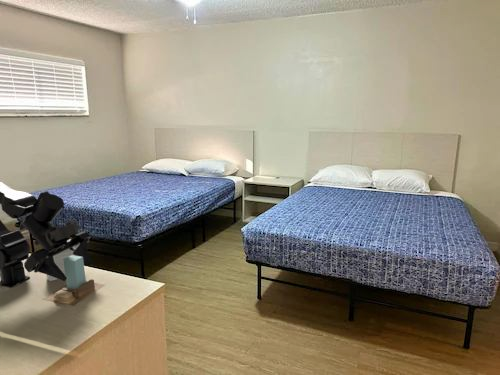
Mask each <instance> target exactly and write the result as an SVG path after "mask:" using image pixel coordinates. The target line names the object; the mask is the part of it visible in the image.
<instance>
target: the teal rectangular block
mask: <svg viewBox="0 0 500 375" xmlns="http://www.w3.org/2000/svg"><path fill="white" fill-rule="evenodd" d="M63 261H64V269H65V276H66V278H67V279H66V280H65V281H66V282H65V283H66V284H65V285H67V288H69V289H74V290H76V288H78V287H79V286H81V285H83V284H84V283H86V271H85V270H86V269H85V263H84V261H83V257H81V256H74V255H71V256H69V257H67V258H65V259H63Z"/></svg>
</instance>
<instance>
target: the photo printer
mask: <svg viewBox="0 0 500 375" xmlns="http://www.w3.org/2000/svg"><path fill="white" fill-rule="evenodd" d="M71 239H72V238H70V239H69V240H67V242H69V241H70V240H71ZM63 248H64V247H63ZM73 252H74V251H72V250H70V249H67V250H65V251H63V252H61V253H59V254H57V255H55V256H53V258H54V262H55V264H56V265H57V266H58V267H59V269H60V270H61V271H62V272H63V273H64V275H65V269H64V261H63V259H65V258H67V257H69V256H71V255H74V254H73ZM74 256H75V255H74ZM46 279H47V281H49V282H52V281H57V280H58V279H57V278H55V277H52V276H50V275H47V274H46Z"/></svg>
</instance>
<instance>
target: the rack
mask: <svg viewBox="0 0 500 375" xmlns="http://www.w3.org/2000/svg"><path fill="white" fill-rule="evenodd" d="M104 286H105V284H103V283H98V282H97V283H96V282H95V280H94V279H92V278H91V279H89V280H87V281H86V283H84V284H83V285H81V286H79V287H78V288H76V290H74V289H69V288H67V284H65V285H64V286H62V287H59V288H58V289H56V290H55V291H53V292H51V293H50V294H48V295H46V296H44V297H43V298H42V300H44V301H48V302H54V303H59V304H62V305H66V306H67V305H68V306H71V307H72V306H76V305H78V303H80V302H81V301H84V300H85V299H86V298H88V297H89V296H90V295H92V294H93V293H95V292H97V291H98V290H100V289H102V287H104Z"/></svg>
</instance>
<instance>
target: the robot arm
mask: <svg viewBox="0 0 500 375" xmlns="http://www.w3.org/2000/svg"><path fill="white" fill-rule="evenodd" d="M0 205H1V210H2V212H4V213H5V214H6V215H7V216H8V217H10V218H12V219H14V220H16V219H18V218H22V217H25V218H24V219H22V220H20V226H19V230H18V229H17V230H15V231H12V230H10V229H8V228H7V226H6V224H4V223H3V221H2V220H1V219H0V286H1V287H6V288H13V287H15V286H17V285H19V284H22V283H23V282H25V281H27V280H29V279H31V277H30V276H28V275H26V273H25V271H27V273H31V272H34V273H35V274H36V273H40V274H44V275H46V276H47V275H50V276H52V277H55V278H57V280H60V281H63V282H65V281H66V279H67V278H66V276H65V275H64V273H63V272H62V271H61V270H60V269H59V267H58V266H57V265H56V264H55V262H54V258H53V256H55V255H57V254H59V253H61V252H63V251H65V250H67V249H70V250H72V251H74V252H73V254H74V255H75V256H81V257H83V261H84V265H86V266H88V267H91V266H93V263H92V260H91V258H90V254H89V250H88V244H89V242H90V239H91V237H92V236H91V235H90V234H89V232H88V231H84V230H83V231H80V232H79V233H78V230H80V228H81V226H80V224H79V223H78V222H77V220H75V219H71V220H69V221H67V222H66V223H65V225H64V226H62V227H60V226H59V225H54V224H53V223H52V221H54V220H55V219H56V218H57V216H58V215H59V213H60V212H61V211H62V209H63V207H65V202H64V200H63V199H62V197H60V196H58V195H56V194H52V193H49V191H47V190H46V191H41V192H40V193H39V195H38V197H36V196H34V195H33V194H31V193H28V192H26V191H22V190H21V191H20V190H16V189H13V188H11V187H10V186H8V185H6V184H5V183H3V182H2V181H0ZM23 230H26V231H28V233H29V234H30V235H31V236H32V237H33V239H34V240H35V241H34V242H33V244H34V245H35V246H39V245H40V247H41V249H39V250H36V251H34V252H31V254H30V251H31V250H30V249H31V245H30V243H29V242H28V238H26V237H25V236H24V235H23V234H22V232H21V231H23ZM72 235H73V236H72ZM71 236H72V238H71ZM69 239H71V240H70V241H69V242H67V240H69ZM63 247H64V248H63Z"/></svg>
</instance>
